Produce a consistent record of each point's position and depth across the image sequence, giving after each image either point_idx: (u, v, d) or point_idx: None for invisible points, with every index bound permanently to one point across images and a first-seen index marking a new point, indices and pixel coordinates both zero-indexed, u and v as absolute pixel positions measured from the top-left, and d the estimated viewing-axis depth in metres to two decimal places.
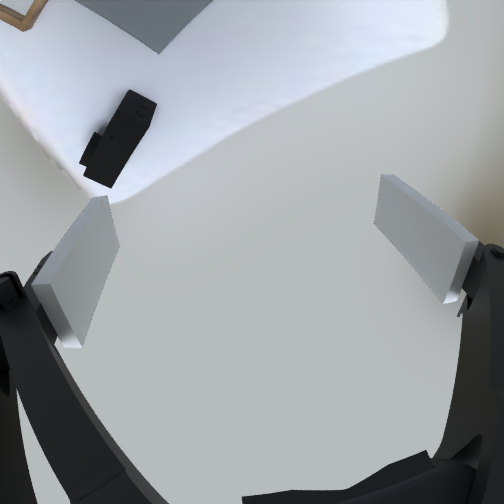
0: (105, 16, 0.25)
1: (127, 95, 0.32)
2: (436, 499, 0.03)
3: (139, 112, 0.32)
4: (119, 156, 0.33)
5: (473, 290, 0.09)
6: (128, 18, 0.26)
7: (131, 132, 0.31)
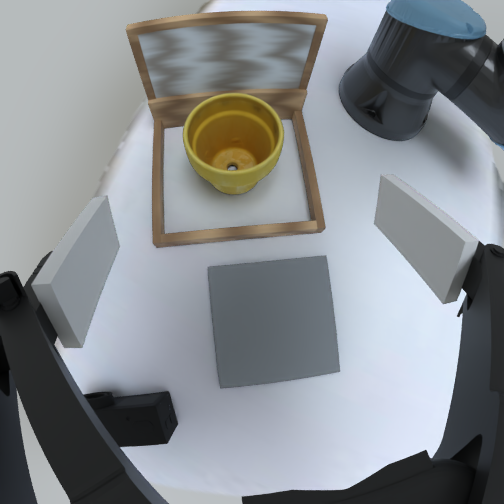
0: (213, 314, 0.35)
1: (166, 396, 0.31)
2: (435, 499, 0.03)
3: (167, 422, 0.28)
4: (116, 436, 0.25)
5: (473, 290, 0.09)
6: (227, 335, 0.34)
7: (148, 432, 0.26)
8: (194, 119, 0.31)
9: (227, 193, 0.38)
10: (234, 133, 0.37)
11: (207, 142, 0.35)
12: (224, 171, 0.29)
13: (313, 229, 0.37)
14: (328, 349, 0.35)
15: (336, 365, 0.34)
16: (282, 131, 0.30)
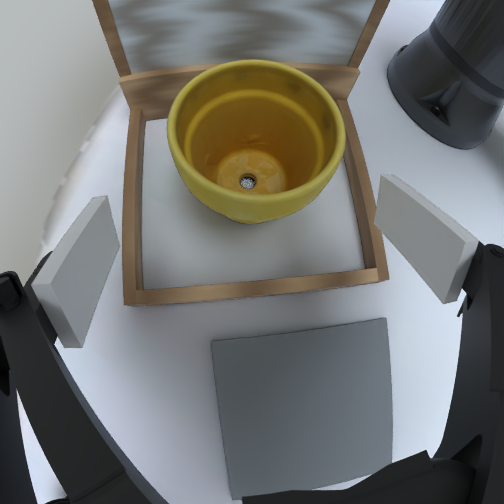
0: (221, 411, 0.21)
1: None
2: (436, 499, 0.03)
3: None
4: None
5: (473, 290, 0.09)
6: (241, 439, 0.21)
7: None
8: (187, 100, 0.17)
9: (240, 222, 0.25)
10: (253, 127, 0.23)
11: (209, 140, 0.22)
12: (243, 196, 0.15)
13: (372, 281, 0.23)
14: (380, 444, 0.21)
15: (388, 460, 0.21)
16: (343, 125, 0.17)
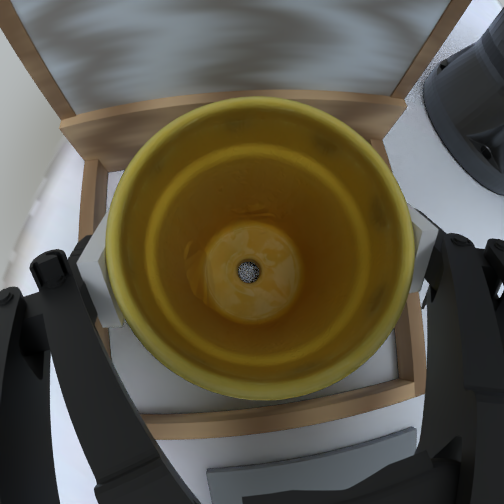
0: None
1: None
2: (436, 499, 0.03)
3: None
4: None
5: (436, 281, 0.10)
6: None
7: None
8: (142, 181, 0.10)
9: None
10: (255, 195, 0.16)
11: (188, 223, 0.15)
12: (244, 392, 0.08)
13: None
14: None
15: None
16: (411, 232, 0.10)
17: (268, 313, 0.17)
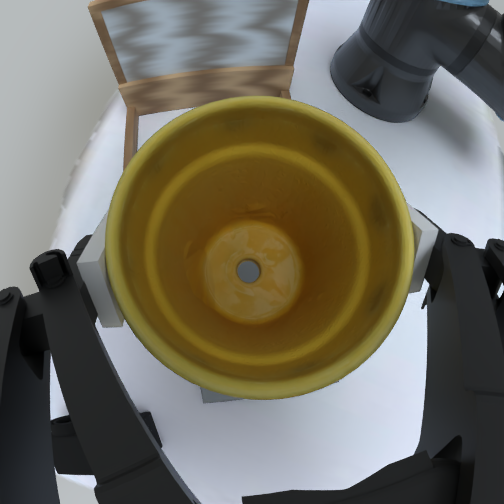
0: None
1: (145, 418, 0.27)
2: (436, 499, 0.03)
3: None
4: None
5: (436, 281, 0.10)
6: None
7: None
8: (142, 180, 0.10)
9: None
10: (255, 195, 0.16)
11: (188, 223, 0.15)
12: (243, 391, 0.08)
13: None
14: None
15: None
16: (411, 232, 0.10)
17: (268, 313, 0.17)
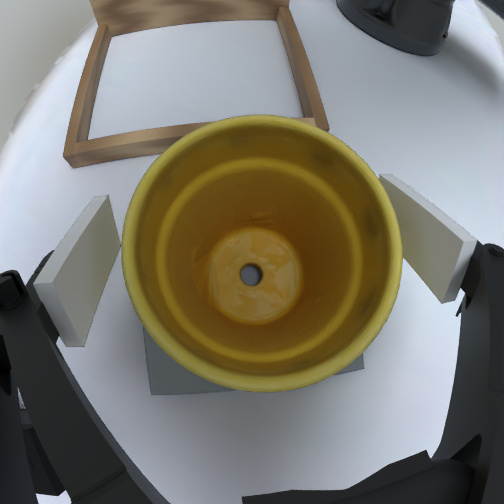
0: None
1: None
2: (436, 499, 0.03)
3: None
4: None
5: (472, 289, 0.09)
6: None
7: None
8: (154, 192, 0.12)
9: None
10: (258, 204, 0.17)
11: (195, 230, 0.16)
12: (245, 384, 0.09)
13: None
14: None
15: (358, 357, 0.19)
16: (400, 243, 0.11)
17: (269, 314, 0.19)
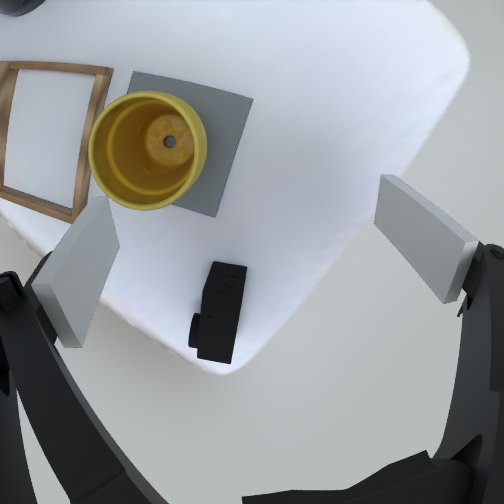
0: None
1: (212, 268, 0.37)
2: (436, 499, 0.03)
3: (228, 283, 0.35)
4: (225, 332, 0.35)
5: (473, 290, 0.09)
6: None
7: (226, 306, 0.34)
8: (110, 187, 0.26)
9: None
10: (132, 131, 0.29)
11: (134, 166, 0.30)
12: (188, 182, 0.25)
13: (103, 78, 0.28)
14: (222, 101, 0.30)
15: (243, 99, 0.30)
16: (161, 96, 0.22)
17: (193, 140, 0.31)
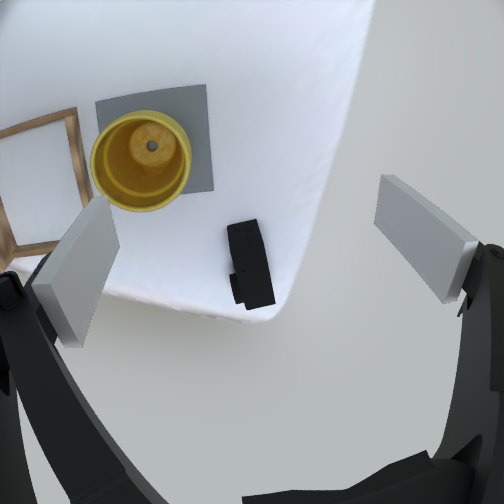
0: None
1: (229, 232, 0.43)
2: (436, 499, 0.03)
3: (247, 237, 0.40)
4: (261, 278, 0.42)
5: (473, 290, 0.09)
6: None
7: (254, 256, 0.40)
8: (124, 202, 0.31)
9: None
10: (119, 150, 0.33)
11: (133, 178, 0.34)
12: (187, 171, 0.29)
13: (72, 118, 0.32)
14: (182, 96, 0.34)
15: (198, 88, 0.34)
16: (138, 115, 0.26)
17: (171, 137, 0.35)
